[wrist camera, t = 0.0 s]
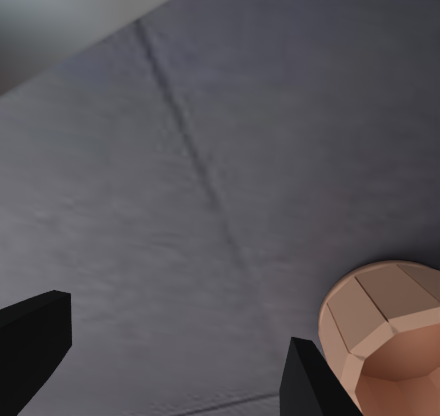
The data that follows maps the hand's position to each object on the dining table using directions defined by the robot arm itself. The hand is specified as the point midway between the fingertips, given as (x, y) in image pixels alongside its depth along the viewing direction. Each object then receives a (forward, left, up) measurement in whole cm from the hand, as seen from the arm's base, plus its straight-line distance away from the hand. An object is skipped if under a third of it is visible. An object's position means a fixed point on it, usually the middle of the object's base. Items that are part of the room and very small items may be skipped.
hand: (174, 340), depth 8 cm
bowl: (-4, -12, -10) cm, 16 cm away
